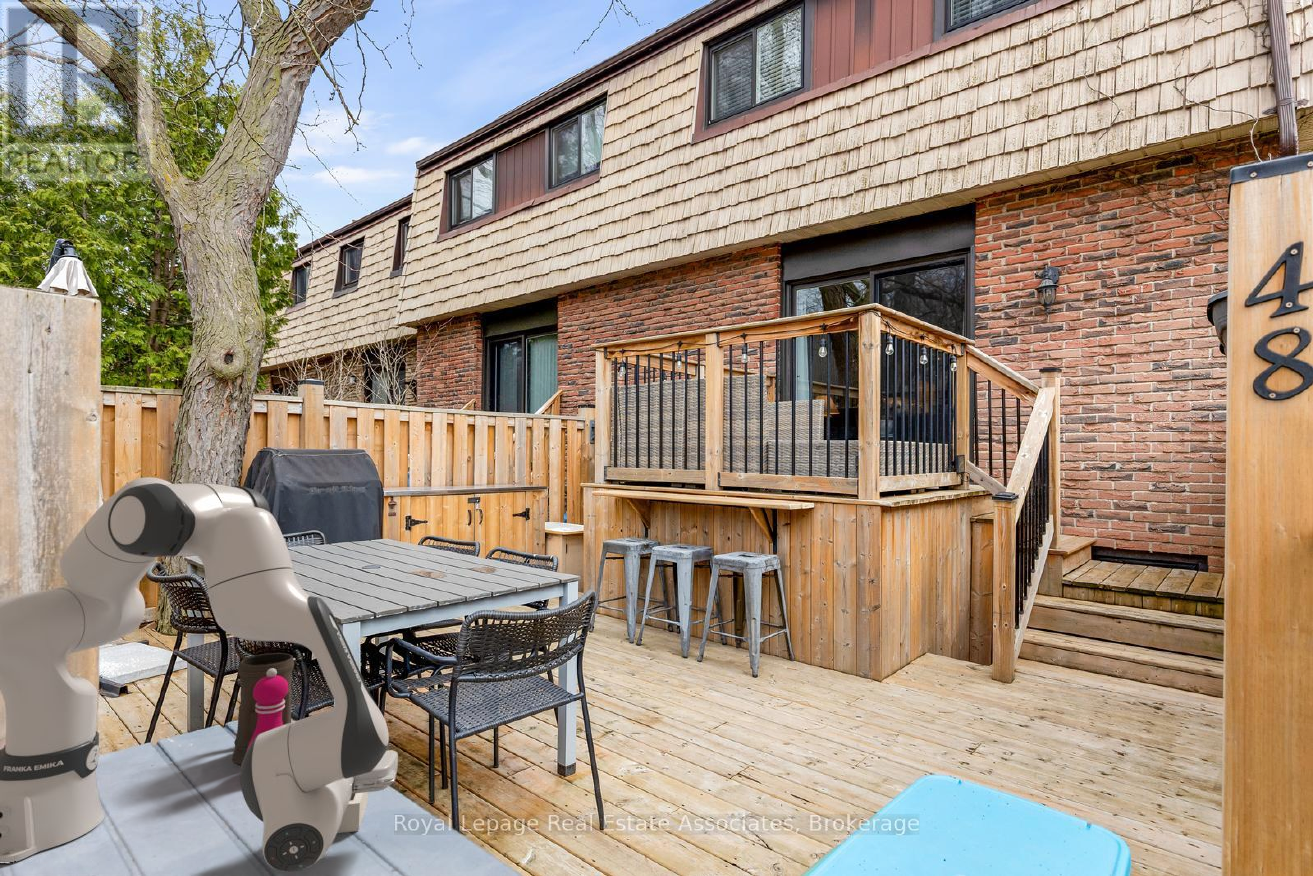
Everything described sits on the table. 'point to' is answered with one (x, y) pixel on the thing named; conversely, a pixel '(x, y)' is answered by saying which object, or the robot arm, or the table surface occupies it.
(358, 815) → the socket block
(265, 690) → the pepper mill
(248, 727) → the beer stein
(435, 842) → the table surface
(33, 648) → the robot arm
